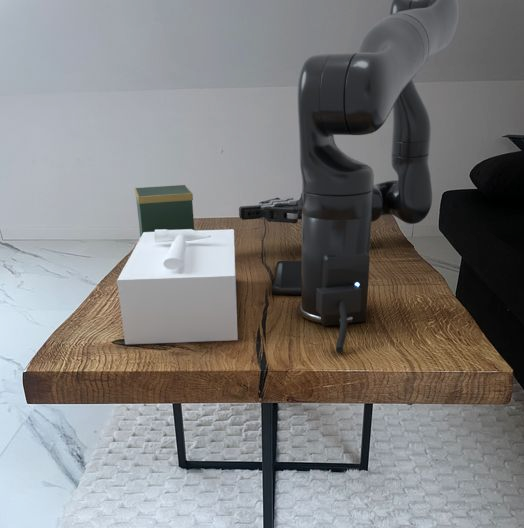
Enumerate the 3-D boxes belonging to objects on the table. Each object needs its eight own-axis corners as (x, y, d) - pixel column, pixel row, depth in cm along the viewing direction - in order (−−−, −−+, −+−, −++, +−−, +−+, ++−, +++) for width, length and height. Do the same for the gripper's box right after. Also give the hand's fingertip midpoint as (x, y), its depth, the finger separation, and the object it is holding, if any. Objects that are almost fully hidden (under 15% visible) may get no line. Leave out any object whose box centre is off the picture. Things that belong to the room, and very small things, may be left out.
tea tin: (197, 266, 109) (192, 193, 103) (145, 271, 106) (138, 196, 101) (190, 253, 117) (185, 184, 111) (141, 257, 115) (134, 188, 109)
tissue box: (235, 280, 100) (233, 214, 96) (237, 340, 78) (234, 257, 73) (148, 283, 100) (142, 217, 95) (125, 344, 77) (114, 261, 73)
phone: (272, 287, 93) (277, 260, 106) (272, 294, 93) (277, 266, 107) (323, 288, 92) (322, 260, 106) (323, 295, 93) (322, 266, 106)
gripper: (317, 181, 119) (231, 187, 115) (342, 192, 108) (247, 198, 104) (316, 219, 122) (233, 226, 118) (340, 234, 111) (249, 241, 107)
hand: (240, 213), depth 111 cm, fingers closed
